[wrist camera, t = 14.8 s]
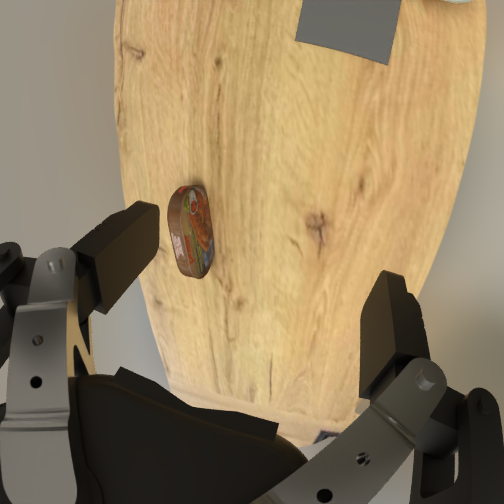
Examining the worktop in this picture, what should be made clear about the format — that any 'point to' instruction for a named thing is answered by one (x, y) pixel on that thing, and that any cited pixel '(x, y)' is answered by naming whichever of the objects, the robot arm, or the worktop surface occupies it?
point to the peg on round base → (457, 1)
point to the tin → (191, 231)
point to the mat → (350, 26)
